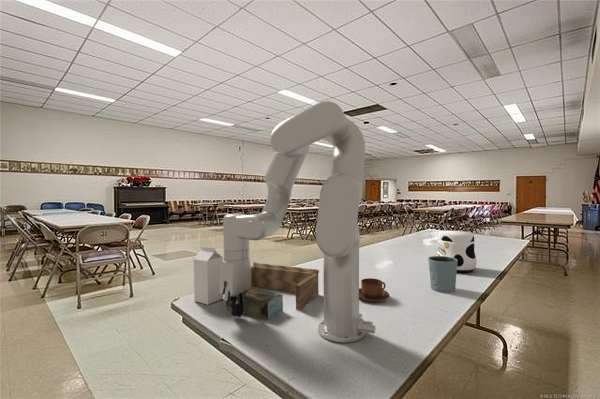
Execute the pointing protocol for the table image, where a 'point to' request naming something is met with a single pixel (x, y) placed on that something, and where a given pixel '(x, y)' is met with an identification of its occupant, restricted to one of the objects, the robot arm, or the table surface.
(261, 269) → the frame
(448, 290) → the teal cup
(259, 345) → the table surface
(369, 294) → the cup and saucer
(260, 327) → the table surface
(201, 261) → the milk carton
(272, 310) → the beverage carton
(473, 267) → the milk container
